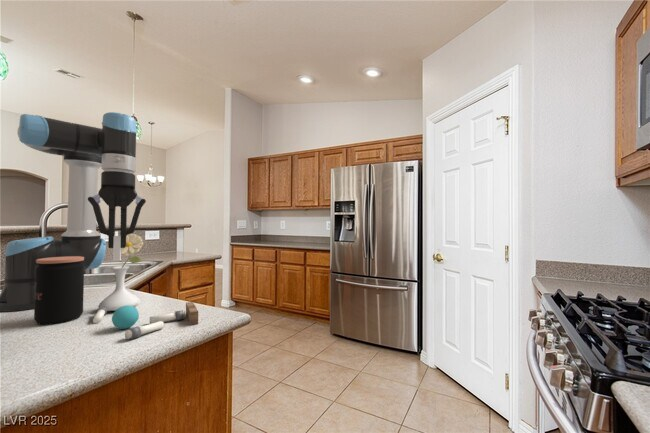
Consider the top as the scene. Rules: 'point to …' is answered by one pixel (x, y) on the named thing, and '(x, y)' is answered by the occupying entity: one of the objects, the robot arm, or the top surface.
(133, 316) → the ball
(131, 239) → the flower in vase
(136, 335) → the right back pin
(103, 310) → the left back pin
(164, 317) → the front pin
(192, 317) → the back wall
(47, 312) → the coffee jar
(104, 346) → the top surface
